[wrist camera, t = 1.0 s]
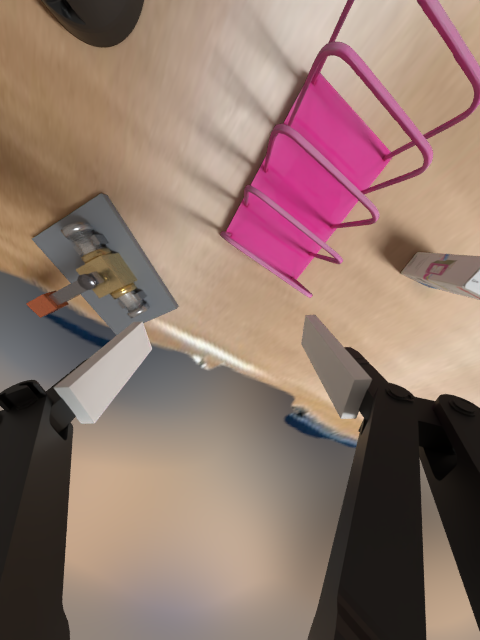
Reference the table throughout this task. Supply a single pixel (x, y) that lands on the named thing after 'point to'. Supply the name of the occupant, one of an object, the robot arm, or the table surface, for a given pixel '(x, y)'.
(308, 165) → the file sorter
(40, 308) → the valve lever
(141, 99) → the table surface
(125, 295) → the valve pipe
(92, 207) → the mounting board
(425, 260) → the ink box
